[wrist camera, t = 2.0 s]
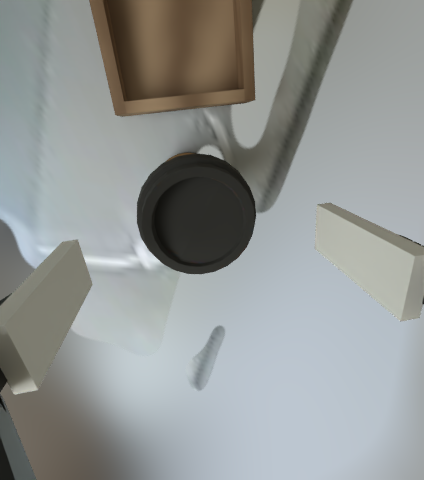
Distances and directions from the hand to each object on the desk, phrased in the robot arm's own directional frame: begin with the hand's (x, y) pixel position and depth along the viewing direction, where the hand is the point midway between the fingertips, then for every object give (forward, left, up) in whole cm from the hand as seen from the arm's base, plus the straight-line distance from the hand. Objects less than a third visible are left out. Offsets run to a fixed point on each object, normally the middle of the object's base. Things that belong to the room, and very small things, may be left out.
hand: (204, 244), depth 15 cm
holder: (+1, +14, -18) cm, 23 cm away
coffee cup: (0, 0, -18) cm, 18 cm away
